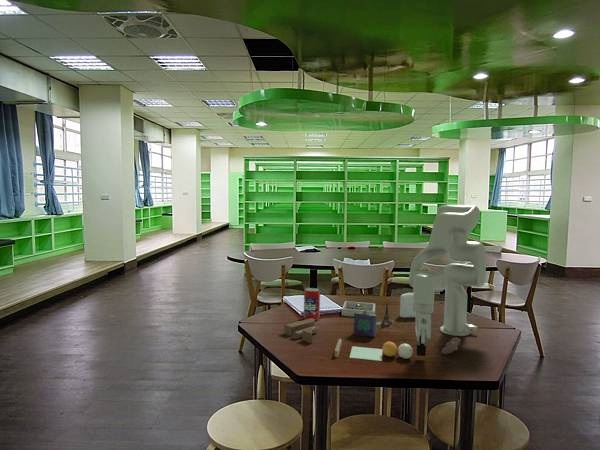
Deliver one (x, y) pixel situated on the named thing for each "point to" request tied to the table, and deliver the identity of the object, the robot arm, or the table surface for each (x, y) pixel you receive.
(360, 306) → the grey rounded piece
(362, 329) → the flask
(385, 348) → the orange ball
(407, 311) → the photo printer
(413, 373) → the table surface
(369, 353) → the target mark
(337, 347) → the stop rail
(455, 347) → the video game controller
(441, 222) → the robot arm
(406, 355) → the cue ball
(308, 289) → the soda can
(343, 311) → the cup tray
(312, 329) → the wooden block set
